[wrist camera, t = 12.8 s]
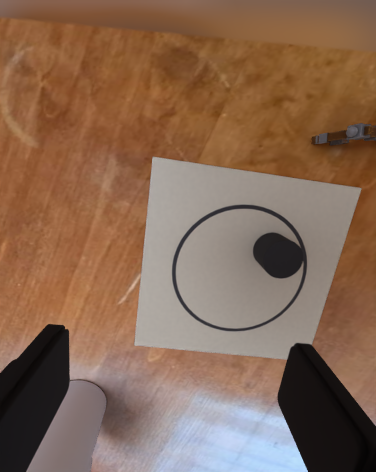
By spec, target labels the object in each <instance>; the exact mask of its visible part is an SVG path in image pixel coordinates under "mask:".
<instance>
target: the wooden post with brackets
mask: <svg viewBox="0 0 376 472" xmlns="http://www.w3.org/2000/svg"><path fill="white" fill-rule="evenodd" d="M349 139H355V140H359V139H364V140H365V141H369V140H374V141H376V126H371V124H369V125H367V124H363V123H360V124H356V125H351V126H348V130H344V131H339V132H334V133H324V134H319V136H313V137H312V143H311V144H320V143H329V142H330V145H337V144H345V143H349Z"/></svg>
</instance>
